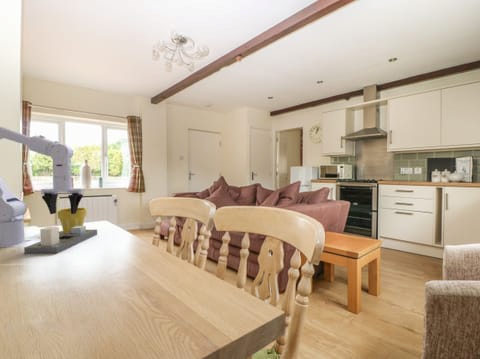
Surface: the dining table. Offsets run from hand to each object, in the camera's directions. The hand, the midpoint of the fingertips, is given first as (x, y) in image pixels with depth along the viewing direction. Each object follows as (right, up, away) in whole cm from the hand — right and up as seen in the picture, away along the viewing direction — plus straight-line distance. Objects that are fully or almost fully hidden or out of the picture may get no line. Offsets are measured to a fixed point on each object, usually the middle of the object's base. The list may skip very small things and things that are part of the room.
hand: (63, 213), depth 97 cm
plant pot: (-6, -10, +15) cm, 19 cm away
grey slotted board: (+3, -11, -4) cm, 12 cm away
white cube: (+3, -10, +4) cm, 11 cm away
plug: (+3, -10, -11) cm, 16 cm away
